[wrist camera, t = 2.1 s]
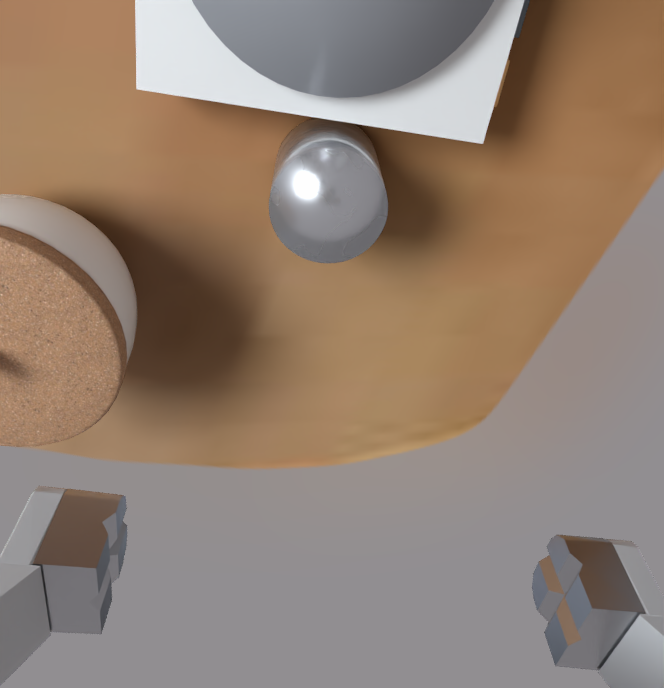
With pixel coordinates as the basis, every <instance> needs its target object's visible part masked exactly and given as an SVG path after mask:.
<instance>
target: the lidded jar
mask: <svg viewBox="0 0 664 688" xmlns="http://www.w3.org/2000/svg"><path fill="white" fill-rule="evenodd" d="M136 326H137V299H136V293H135V289H134V285H133V281H132V278H131V275H130V273H129V270H128V268H127V266H126V263H125V261H124V260H123V258H122V256H121V255H120V253H119V252H118V250H117V249H116V247H115V246H114V245H113V244H112V242H111V241H110V240H109V239H108V238H107V237H106V236H105V235H104V234H103V233H102V232H101V231H100V230H99V229H98V228H97V227H96V226H95V225H93V224H92V223H91V222H89V221H88V220H86V219H85V218H84V217H82V216H81V215H79V214H77V213H75V212H74V211H72V210H70V209H68V208H66V207H64V206H62V205H59V204H56V203H54V202H51V201H49V200H45V199H41V198H37V197H33V196H26V195H16V194H0V446H16V447H22V446H39V445H45V444H51V443H55V442H59V441H62V440H65V439H69V438H71V437H74V436H76V435H78V434H80V433H82V432H84V431H86V430H87V429H89V428H90V427H91V426H93V425H94V424H96V423H97V422H98V421H99V420H100V419H101V418H102V417H103V416H104V415H105V414H106V413H107V412H108V411H109V409H110V407H111V406H112V404H113V403H114V401H115V399H116V397H117V395H118V393H119V390H120V387H121V385H122V382H123V379H124V376H125V371H126V366H127V363H128V360H129V357H130V354H131V351H132V349H133V344H134V339H135V333H136Z"/></svg>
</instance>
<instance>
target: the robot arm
mask: <svg viewBox="0 0 664 688" xmlns="http://www.w3.org/2000/svg"><path fill="white" fill-rule="evenodd" d="M126 509H127V508H126V497H125V496H124V495H117V494H109V493H108V494H107V493H100V492H91V491H83V490H74V489H64V488H55V487H54V488H53V487H45V486H38V487H37V489H35V490H34V491H33V493H32V494H31V496H30V498H29V500H28V502H27V504H26V506H25V508H24V510H23V512H22V514H21V516H20V518H19V520H18V522H17V524H16V526H15V528H14V530H13V532H12V534H11V536H10V538H9V540H8V542H7V544H6V545H5V547H4V549H3V552H2V553H1V555H0V686H1V684H2V683H3V682H4V681H5V680H6V679H7V678H8V677H9V676H10V675H11V674H12V673H13V672H14V671H15V670H16V669H17V668H18V667H19V666H20V665H21V664H22V663H23V662H24V661H25V660H26V659H27V658H28V657H29V656H30V655H31V654H32V653H33V652H34V651H35V650H36V649H37V648H38V647H39V646H40V645H41V644H42V643H43V642H44V641H45V640H46V639H47V638H48V637H49V636H50V635H51V633H50V632H63V633H87V634H88V633H89V634H102V630H103V627H104V624H105V621H106V618H107V614H108V611H109V608H110V605H111V602H112V587H111V584H112V583H113V582H114V581H115V580H116V579H117V578H119V575H120V571H121V568H122V565H123V560H124V555H125V550H126V542H127V525H126V524H125V523H124V522H123V518H124V515H125V512H126ZM547 549H548V552H549V556H547V557H546V558H544V559H542V560H541V561H539V562H538V565H537V567H536V569H535V571H534V573H533V583H532V589H533V597H534V601H535V605H536V608H537V610H538V612H539V613H540V614H541V615H542V616H543V617H544V618H545V619H546V620H547V621H548V625H547V627H546V630H545V632H544V633H545V636H546V639H547V642H548V645H549V648H550V651H551V654H552V657H553V660H554V663H555V666H560V667H570V668H580V669H591V670H599V672H598V673H599V675H600V676H601V677H602V678H603V679H604V681H605V682H606V683H607V684H608V686H609V687H610V688H664V596H663V594H662V592H661V590H660V589H659V587H658V585H657V583H656V581H655V579H654V577H653V575H652V573H651V571H650V569H649V568H648V566H647V564H646V562H645V560H644V558H643V556H642V554H641V552H640V550H639V548H638V547H637V546H636V545H635V544H634V543H633V542H632V541H623V540H611V539H603V538H593V537H580V536H566V535H556V536H554V537H553V538H551V540H550V542H549V544H548V545H547Z"/></svg>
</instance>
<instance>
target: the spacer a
mask: <svg viewBox="0 0 664 688" xmlns="http://www.w3.org/2000/svg"><path fill="white" fill-rule="evenodd" d="M269 214H270V219H271V223H272V226H273V228H274V231H275V232H276V234H277V236H278V237H279V239H280V240H281V242H282V243H283V244H284V245H285V246H286V247H287V248H288V249H290V250H291V251H292V252H294V253H295V254H297V255H298V256H300V257H302V258H305V259H307V260H310V261H314V262H319V263H337V262H343V261H346V260H349V259H352V258H354V257H356V256H358V255H360V254H362V253H363V252H364V251H366V250H367V249H368V248H369V247H370V246H371V245H372V244H374V242H375V241H376V240H377V239H378V237H379V235H380V234H381V232H382V230H383V228H384V226H385V223H386V219H387V214H388V199H387V193H386V189H385V186H384V182H383V178H382V174H381V170H380V166H379V162H378V158H377V154H376V151H375V148H374V146H373V144H372V142H371V140H370V139H369V137H368V136H367V135H366V134H365V132H364V131H362V130H361V129H360V128H359V127H358V126H356V125H355V124H353V123H347V122H341V121H335V120H328V119H322V118H312V119H309V120H306V121H304V122H302V123H301V124H299V125H298V126H296V127H295V128H294V129H292V130H291V131H290V132H289V133H288V135H287V136H286V137H285V139H284V140H283V142H282V143H281V146H280V148H279V150H278V154H277V158H276V164H275V170H274V176H273V182H272V188H271V193H270V199H269Z"/></svg>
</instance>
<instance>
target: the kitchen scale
mask: <svg viewBox="0 0 664 688" xmlns="http://www.w3.org/2000/svg"><path fill="white" fill-rule="evenodd" d="M529 2H530V0H135V11H136V86H137V89H139V90H145V91H151V92H158V93H164V94H170V95H177V96H183V97H189V98H196V99H202V100H208V101H214V102H221V103H227V104H233V105H240V106H246V107H252V108H259V109H265V110H271V111H278V112H284V113H290V114H297V115H303V116H309V117H316V118H322V119H328V120H335V121H341V122H347V123H354V124H360V125H366V126H373V127H379V128H385V129H391V130H398V131H404V132H410V133H417V134H423V135H429V136H436V137H442V138H448V139H455V140H461V141H467V142H474V143H480V144H483V142H484V138H485V135H486V131H487V128H488V124H489V121H490V118H491V114H492V111H493V107H497V105H498V101H499V98H500V94H501V91H502V87H503V84H504V81H505V77H506V74H507V70H508V67H509V64H510V60H509V59H508V55H509V52H510V49H511V45H512V42H513V38H514V37H516V38H519V36H520V32H521V29H522V25H523V22H524V19H525V15H526V12H527V8H528V5H529Z"/></svg>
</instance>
